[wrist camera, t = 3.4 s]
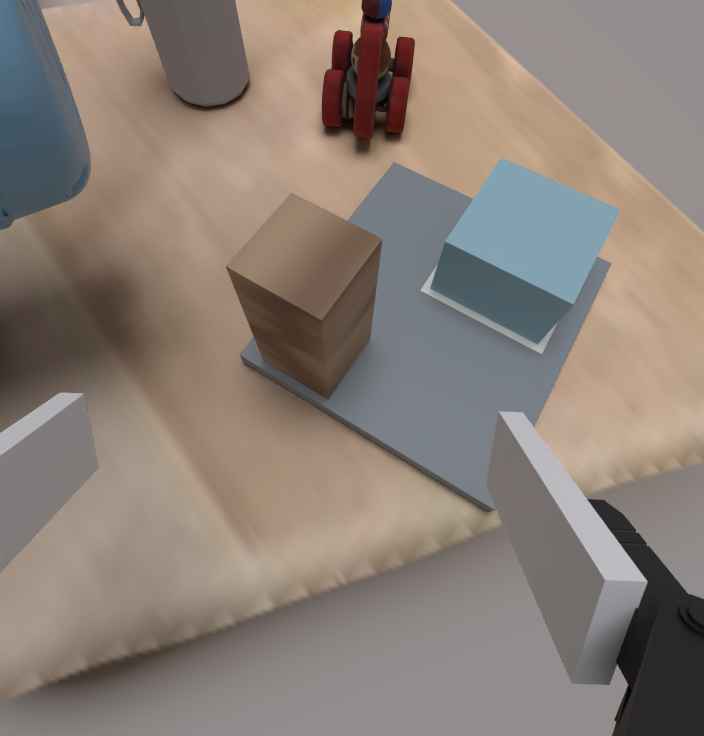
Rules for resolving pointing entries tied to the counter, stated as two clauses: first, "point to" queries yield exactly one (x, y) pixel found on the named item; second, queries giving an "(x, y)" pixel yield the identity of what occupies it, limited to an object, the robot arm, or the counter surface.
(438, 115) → the counter surface
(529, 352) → the slate board
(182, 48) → the water bottle
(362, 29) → the toy fire truck
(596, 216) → the teal block
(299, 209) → the walnut block
